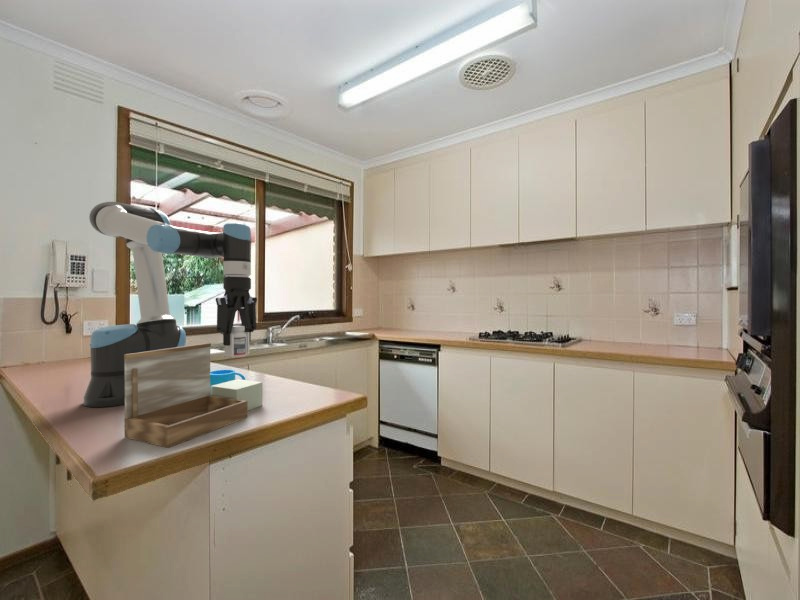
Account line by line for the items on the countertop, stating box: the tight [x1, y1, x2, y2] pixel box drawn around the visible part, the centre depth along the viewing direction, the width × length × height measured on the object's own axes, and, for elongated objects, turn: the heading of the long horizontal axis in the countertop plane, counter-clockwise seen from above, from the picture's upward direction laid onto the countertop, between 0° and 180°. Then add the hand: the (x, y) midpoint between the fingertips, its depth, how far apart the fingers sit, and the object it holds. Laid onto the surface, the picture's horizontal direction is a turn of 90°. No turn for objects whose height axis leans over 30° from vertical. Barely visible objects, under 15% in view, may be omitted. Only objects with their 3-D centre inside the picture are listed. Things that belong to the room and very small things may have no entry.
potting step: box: [211, 378, 263, 411], centre depth 115 cm, size 10×10×7 cm
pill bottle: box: [231, 325, 248, 358], centre depth 114 cm, size 5×5×9 cm
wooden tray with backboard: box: [124, 342, 249, 449], centre depth 98 cm, size 15×23×20 cm, turn 157°
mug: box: [210, 369, 246, 395], centre depth 128 cm, size 12×8×8 cm
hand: (237, 354), depth 114 cm, fingers closed on pill bottle, 5 cm apart
